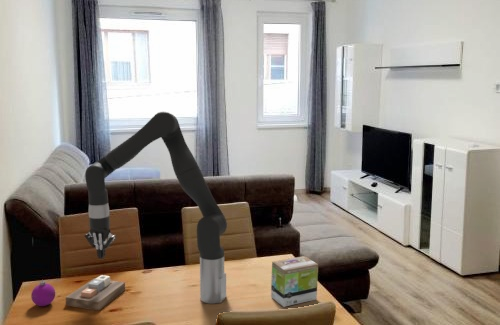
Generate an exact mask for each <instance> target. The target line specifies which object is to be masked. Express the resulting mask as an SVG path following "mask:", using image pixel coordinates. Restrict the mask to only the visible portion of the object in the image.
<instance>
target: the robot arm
mask: <svg viewBox="0 0 500 325" xmlns="http://www.w3.org/2000/svg"><path fill="white" fill-rule="evenodd" d="M179 123H180V122H179V120H178V119H177V117H176V116H175V115H174V114H172V113H170V112H169V111H168V112H167V111H159V112H157V113H156V114H154V116H152V117H151V118H150V119H149V121H147V122H146V124H144V125H143V126H142V127H141V128H139V130H138V131H136V132H135V133H134V134H132V135H131V136H130V137H129V138H127V139H126V140H125V141H123V142H122V143H120V144H119V145H117V146H116V147H115V148H113V149H112V150H110V151H109V152H108V153H106V155H105V156H103V157H101V158H99V159H98V160H97V161H95V162H94V163H92V164H91V165H89V166H88V167H87V169H86V171H85V175H84V178H85V183H86V184H85V185H86V188H87V192H88V224H89V231H88V232H87V233H86V234H84V239H86V240H87V242H88V243H89V245H90V246H91V247H92V248H95V249H96V255H97V258H98V259H99V260H100V259H104V258H105V257H106V249H107V248H109V247H111V245H112V244H113V243H114V241H115V240H116V239H117V235H116V234H114V235H113V233H111V229H110V226H111V220H110V206H109V196H108V189H107V188H106V182H105V179H106V178H107V177H108V176H110V175H111V174H112V173H113V172H115V171H116V170H118V169H120V168H122V167H124V166H125V165H126V164H128V163H129V162H130V161H132V160H133V159H134V158H135V157H137V155H139V153H141V152H142V151H143V150H144V148H146V147H147V146H149V145H150V144H151V143H153V142H154V141H156V140H158V139H160V138H161V140H162V141H163V143H164V144H165V147H166V148H167V152H168V153H169V157H170V161H171V166H172V168H173V171H174V175H175V177H176V179H177V181H178V183H179V185H180V187H181V189H182V190H183V191H184V192H185V194H186V195H188V196H189V198H190V199H192V200H193V202H194V203H195V204H196V205H197V206H198V209H199V211H200V212H201V215H202V217H201V218H200V219H199V220H198V222H197V225H196V242H197V243H196V244H197V251H198V252H199V281H200V282H199V284H200V285H199V286H200V287H199V288H200V290H199V291H200V292H199V296H200V297H199V298H200V301H201V302H202V303H205V304H222V303H223V301H224V300H225V299H226V298H227V273H226V272H225V249H224V247H223V246H222V245H221V238H220V237H221V236H222V235H223V234H224V233H225V232H226V231H227V229H228V221H227V218H226V216H225V215H224V213H223V211H222V210H221V208H220V207H219V205H218V203H217V202H216V199H215V198H214V196H213V194H212V192H211V190H210V188H209V186H208V184H207V182H206V180H205V177H204V175H203V172H202V170H201V168H200V166H199V164H198V162H197V160H196V159H195V157H194V154H193V153H192V152H191V150H190V148H189V147H188V144H187V142H186V140H185V138H184V133H183V132H182V129H181V126H180V124H179Z"/></svg>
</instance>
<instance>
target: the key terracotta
mask: <svg viewBox="0 0 500 325" xmlns="http://www.w3.org/2000/svg"><path fill="white" fill-rule="evenodd" d="M96 294H97V289H94V288H86V289H85V290H83V291H82V292H81V297H86V298H92V297H93V296H95V295H96Z"/></svg>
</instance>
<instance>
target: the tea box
mask: <svg viewBox="0 0 500 325" xmlns="http://www.w3.org/2000/svg"><path fill="white" fill-rule="evenodd" d="M271 262H272V264H271V280H270V281H271V284H270V286H271V287H270V297H271V298H272V299H273V300H274V301H275V302H277V303H278V304H279V305H280V306H281V307H283V308H286V307H288V306H292V305H298V304H302V303H306V302H312V301H317V296H318V281H319V280H318V277H319V276H318V275H319V264H318V263H316V262H315V261H313V260H311V259H310V258H309V257H307V256H304V255H302V256H297V257H292V258H286V259H281V260H280V259H279V260H276V261H271Z"/></svg>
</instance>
